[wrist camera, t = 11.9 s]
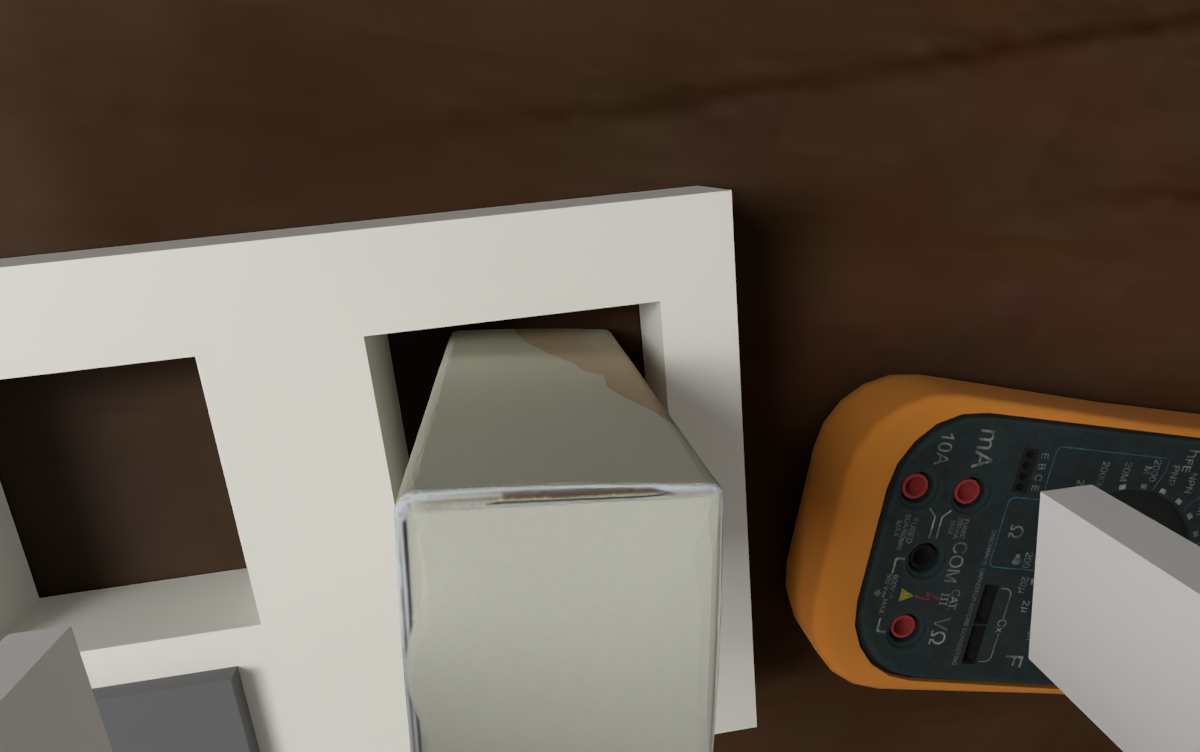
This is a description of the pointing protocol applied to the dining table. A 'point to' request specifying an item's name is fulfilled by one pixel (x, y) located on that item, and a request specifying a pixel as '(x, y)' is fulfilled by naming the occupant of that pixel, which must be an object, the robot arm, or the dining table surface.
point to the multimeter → (961, 522)
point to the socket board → (350, 441)
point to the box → (556, 555)
